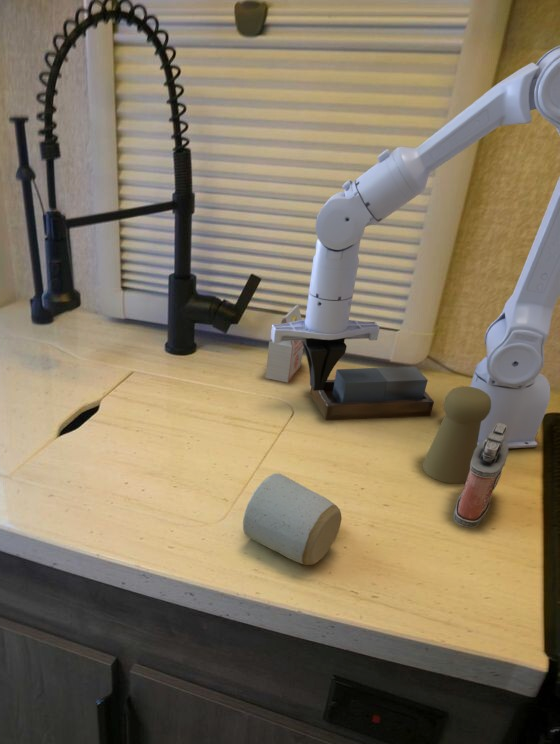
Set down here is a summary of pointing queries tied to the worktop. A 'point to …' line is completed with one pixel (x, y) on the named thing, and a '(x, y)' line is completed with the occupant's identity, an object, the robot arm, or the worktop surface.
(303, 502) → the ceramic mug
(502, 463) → the lighter
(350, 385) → the blue gray block
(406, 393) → the brown wooden tray
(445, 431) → the olive pawn piece
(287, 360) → the milk carton
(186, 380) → the worktop surface
